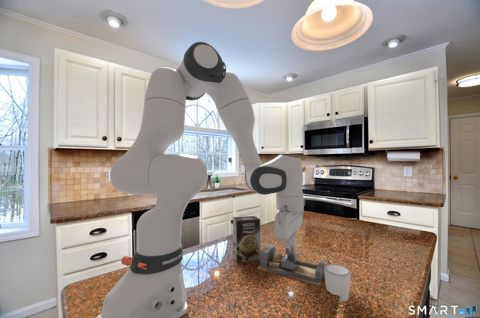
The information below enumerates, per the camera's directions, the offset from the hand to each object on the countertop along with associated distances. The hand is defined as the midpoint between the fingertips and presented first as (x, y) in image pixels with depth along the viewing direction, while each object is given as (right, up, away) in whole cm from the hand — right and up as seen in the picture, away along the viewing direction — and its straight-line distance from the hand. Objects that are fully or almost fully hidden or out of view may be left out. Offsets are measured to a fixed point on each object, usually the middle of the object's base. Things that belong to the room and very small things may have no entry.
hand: (290, 245), depth 73 cm
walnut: (-4, -8, +2) cm, 9 cm away
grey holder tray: (0, -9, 0) cm, 9 cm away
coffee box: (-14, -10, +9) cm, 19 cm away
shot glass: (+10, -9, -12) cm, 18 cm away
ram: (0, -8, 0) cm, 8 cm away
